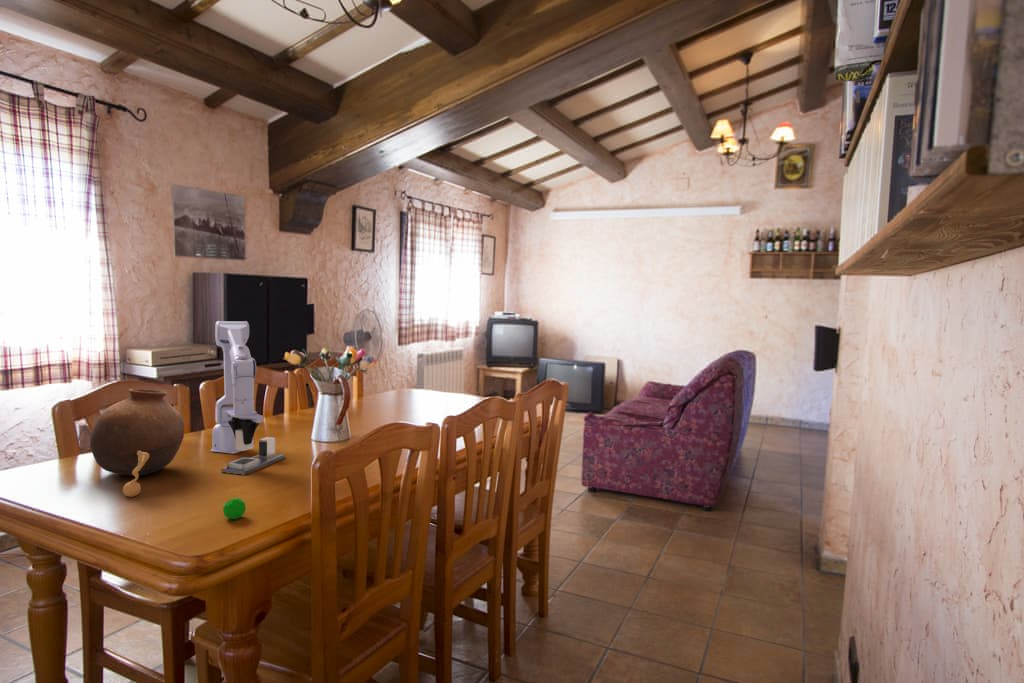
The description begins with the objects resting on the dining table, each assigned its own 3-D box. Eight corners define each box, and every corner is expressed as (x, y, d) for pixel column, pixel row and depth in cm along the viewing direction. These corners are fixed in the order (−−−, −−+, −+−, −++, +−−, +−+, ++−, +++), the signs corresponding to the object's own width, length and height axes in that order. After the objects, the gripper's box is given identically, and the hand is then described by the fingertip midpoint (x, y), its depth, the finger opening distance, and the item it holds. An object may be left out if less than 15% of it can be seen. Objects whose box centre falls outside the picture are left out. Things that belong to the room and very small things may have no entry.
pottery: (73, 483, 165) (70, 394, 163) (129, 460, 188) (127, 381, 186) (154, 487, 165) (153, 397, 163) (200, 463, 188) (199, 384, 186)
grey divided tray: (221, 472, 179) (221, 449, 179) (264, 455, 198) (264, 434, 198) (244, 475, 177) (244, 452, 177) (285, 457, 197) (285, 436, 196)
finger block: (235, 449, 182) (235, 430, 181) (247, 446, 185) (247, 427, 185) (242, 451, 180) (242, 431, 180) (254, 448, 184) (254, 428, 184)
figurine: (124, 492, 160) (123, 448, 159) (150, 489, 162) (150, 446, 161) (121, 502, 152) (120, 456, 151) (149, 499, 155) (148, 453, 154)
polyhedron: (235, 523, 141) (235, 503, 141) (218, 520, 143) (218, 501, 142) (250, 515, 146) (250, 496, 146) (233, 513, 147) (233, 494, 147)
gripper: (271, 399, 181) (271, 443, 183) (238, 394, 188) (239, 437, 189) (251, 403, 175) (251, 448, 176) (218, 397, 182) (219, 441, 183)
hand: (243, 443), depth 182 cm, fingers closed on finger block, 3 cm apart
